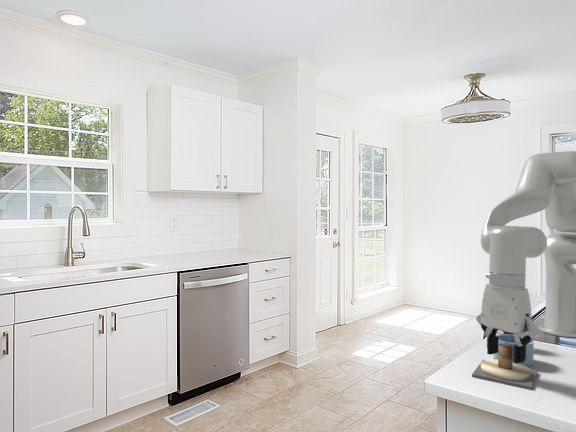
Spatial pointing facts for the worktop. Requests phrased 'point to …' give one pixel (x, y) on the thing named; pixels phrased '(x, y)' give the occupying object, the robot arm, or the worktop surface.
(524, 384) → the mat
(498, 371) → the lid
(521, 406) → the worktop surface
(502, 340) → the bowl
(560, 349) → the worktop surface
